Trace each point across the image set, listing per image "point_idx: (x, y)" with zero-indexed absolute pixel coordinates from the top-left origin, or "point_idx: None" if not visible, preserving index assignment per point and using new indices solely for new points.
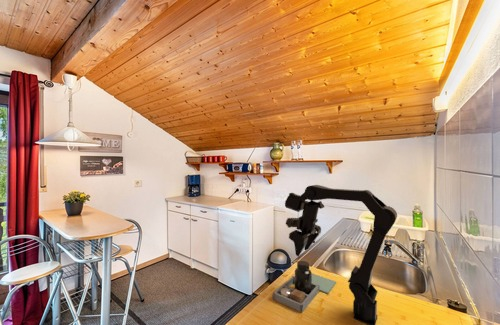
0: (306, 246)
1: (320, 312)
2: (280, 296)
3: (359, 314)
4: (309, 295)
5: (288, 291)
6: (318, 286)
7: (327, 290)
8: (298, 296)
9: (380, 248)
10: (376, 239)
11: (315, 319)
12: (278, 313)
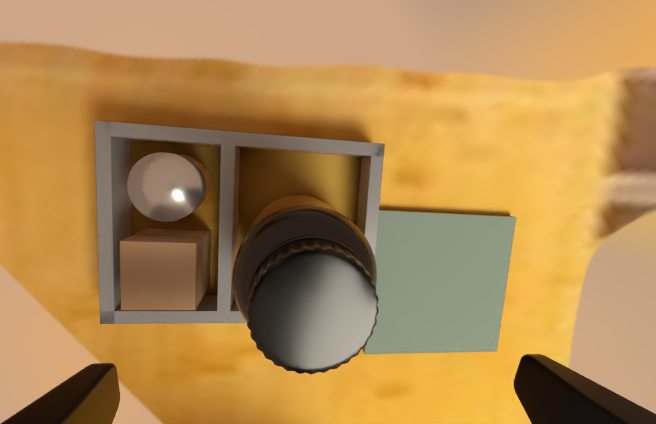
0: (553, 398)
1: (188, 371)
2: (97, 179)
3: None
4: (228, 316)
5: (169, 204)
6: None
7: (383, 344)
8: (125, 294)
9: None
10: None
11: (119, 372)
12: (23, 210)
